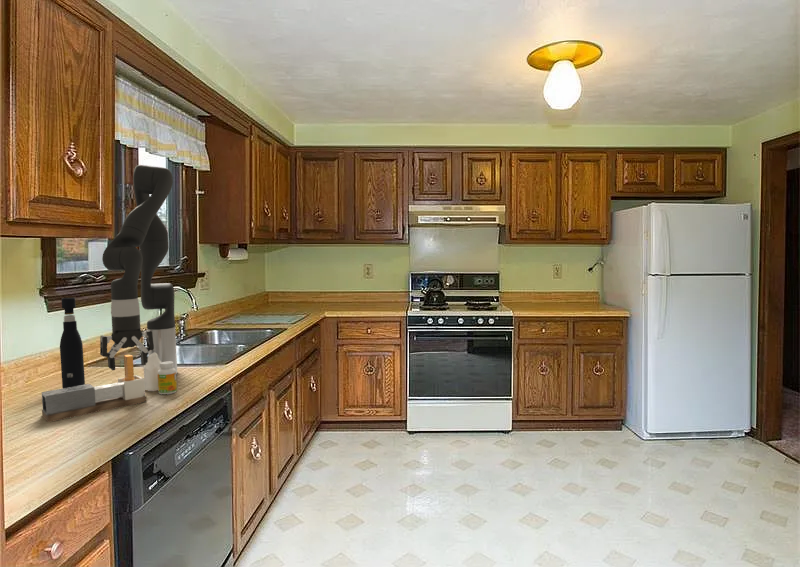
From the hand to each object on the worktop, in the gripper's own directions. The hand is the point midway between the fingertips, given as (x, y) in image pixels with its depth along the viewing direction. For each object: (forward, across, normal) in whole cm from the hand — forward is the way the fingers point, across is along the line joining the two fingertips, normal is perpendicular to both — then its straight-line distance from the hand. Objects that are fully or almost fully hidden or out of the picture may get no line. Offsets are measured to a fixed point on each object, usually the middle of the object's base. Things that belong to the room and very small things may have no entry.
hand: (128, 367), depth 158 cm
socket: (+9, 0, 0) cm, 9 cm away
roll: (+11, +10, +9) cm, 17 cm away
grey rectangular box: (+9, -16, 0) cm, 18 cm away
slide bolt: (+8, -5, 0) cm, 10 cm away
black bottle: (+11, -8, +31) cm, 34 cm away
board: (+10, -9, 0) cm, 14 cm away
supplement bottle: (+11, +12, +1) cm, 16 cm away
